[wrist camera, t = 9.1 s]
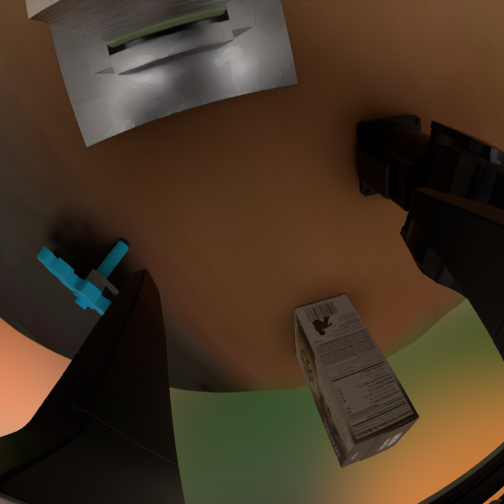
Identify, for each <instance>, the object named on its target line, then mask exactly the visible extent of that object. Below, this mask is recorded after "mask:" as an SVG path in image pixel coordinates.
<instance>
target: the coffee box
mask: <svg viewBox="0 0 504 504" xmlns="http://www.w3.org/2000/svg"><path fill="white" fill-rule="evenodd" d="M294 328H295V345H296V357H297V359H298V362H299V364H300V367H301V369H302V372H303V374H304V376H305V379H306V381H307V384H308V386H309V389H310V391H311V394H312V396H313V399H314V401H315V404H316V406H317V409H318V411H319V414H320V416H321V419H322V421H323V424H324V426H325V429H326V431H327V433H328V436H329V439H330V441H331V444H332V446H333V448H334V451H335V453H336V456H337V458H338V461H339V463H340V466H341V468H342V467H344V466H347V465H350V464H352V463H354V462H357V461H361V460H363V459H366V458H369V457H372V456H374V455H376V454H378V453H380V452H382V451H384V450H386V449H389V448H390V447H392V446H394V445H395V444H396V443H397V442H398V441H399V440H400V438H401V437H402V436H403V435H404V434H405V433H406V432H407V431H408V430H409V429H410V428H411V427H412V425H413V424H414V423H415V422H416V421H417V419H418V418H419V415H418V414H417V412H416V410H415V409H414V407H413V405H412V403H411V401H410V399H409V398H408V396H407V394H406V392H405V390H404V389H403V387H402V386H401V384H400V382H399V380H398V379H397V377H396V375H395V373H394V371H393V370H392V368H391V366H390V365H389V363H388V361H387V360H386V358H385V356H384V355H383V353H382V351H381V350H380V348H379V346H378V345H377V343H376V341H375V340H374V338H373V336H372V335H371V333H370V332H369V330H368V328H367V327H366V325H365V323H364V322H363V320H362V319H361V317H360V315H359V314H358V312H357V311H356V309H355V307H354V306H353V304H352V303H351V301H350V300H349V298H348V297H347V295H346V294H343V295H340V296H337V297H333V298H330V299H327V300H323V301H320V302H317V303H313V304H309V305H306V306H302V307H299V308H296V309H294Z"/></svg>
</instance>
